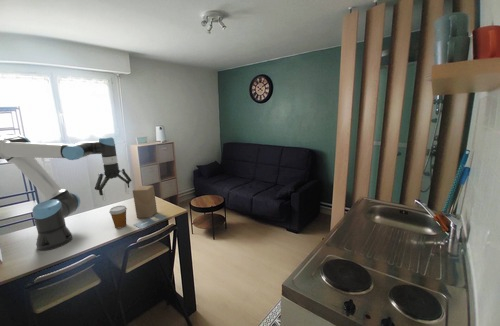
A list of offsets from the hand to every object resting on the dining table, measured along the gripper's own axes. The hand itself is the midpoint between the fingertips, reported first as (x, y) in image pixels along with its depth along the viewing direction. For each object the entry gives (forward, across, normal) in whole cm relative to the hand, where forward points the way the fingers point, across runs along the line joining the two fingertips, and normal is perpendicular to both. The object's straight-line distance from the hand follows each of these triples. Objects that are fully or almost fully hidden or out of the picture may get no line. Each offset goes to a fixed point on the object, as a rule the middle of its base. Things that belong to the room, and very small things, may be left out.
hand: (116, 196), depth 136 cm
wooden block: (+20, +18, 0) cm, 27 cm away
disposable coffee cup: (+20, 0, 0) cm, 20 cm away
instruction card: (+20, +14, -11) cm, 27 cm away
